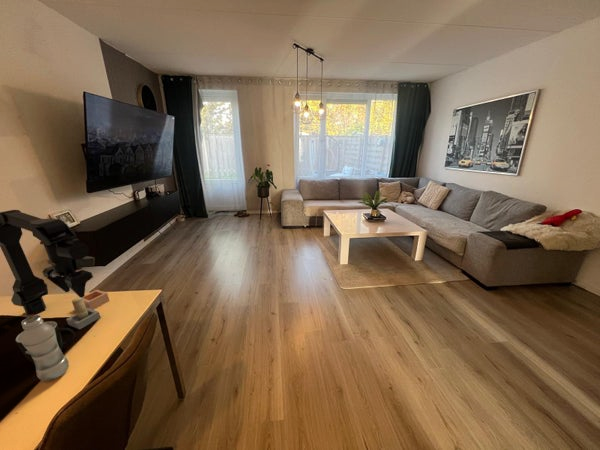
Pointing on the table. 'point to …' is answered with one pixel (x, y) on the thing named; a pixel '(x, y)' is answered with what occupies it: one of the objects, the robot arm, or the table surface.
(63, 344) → the mug
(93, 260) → the robot arm
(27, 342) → the plastic bottle
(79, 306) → the dowel
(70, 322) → the socket block
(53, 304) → the table surface
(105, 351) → the table surface
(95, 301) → the square box
